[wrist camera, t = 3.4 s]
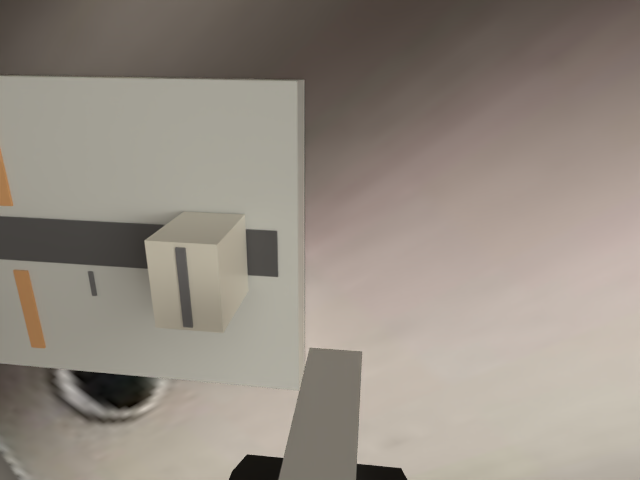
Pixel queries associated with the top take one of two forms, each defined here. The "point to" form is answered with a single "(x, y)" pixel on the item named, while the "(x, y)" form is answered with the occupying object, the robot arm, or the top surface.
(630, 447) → the top surface
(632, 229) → the top surface
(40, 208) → the console
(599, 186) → the top surface
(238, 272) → the fader
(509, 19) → the top surface
